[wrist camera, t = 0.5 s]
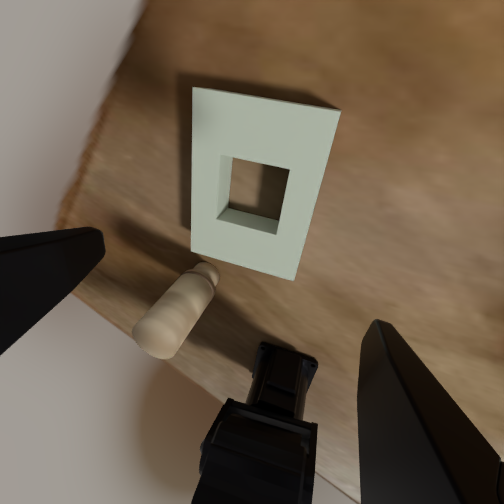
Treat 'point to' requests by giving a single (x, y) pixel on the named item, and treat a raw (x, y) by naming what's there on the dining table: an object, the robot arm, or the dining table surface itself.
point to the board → (262, 151)
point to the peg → (176, 311)
